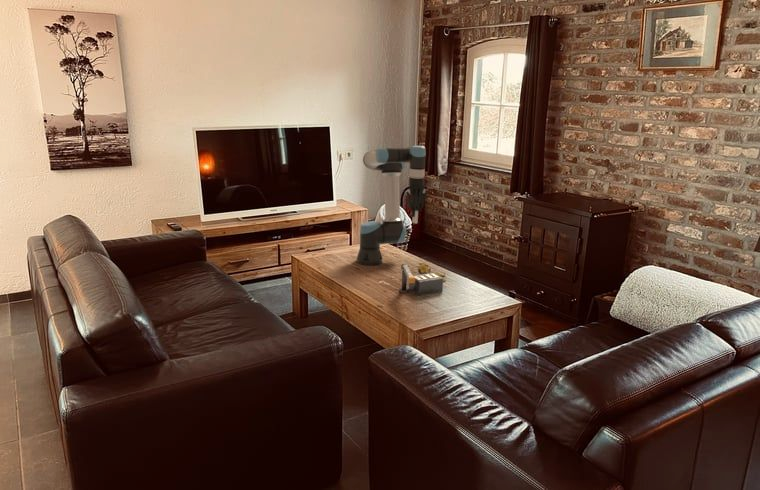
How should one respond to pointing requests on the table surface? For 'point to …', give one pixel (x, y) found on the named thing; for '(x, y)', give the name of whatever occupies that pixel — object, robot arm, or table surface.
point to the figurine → (424, 270)
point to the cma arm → (408, 273)
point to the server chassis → (426, 284)
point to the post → (404, 283)
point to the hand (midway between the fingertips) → (414, 222)
